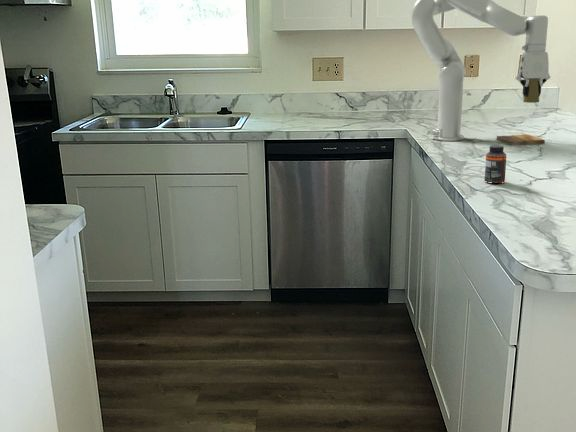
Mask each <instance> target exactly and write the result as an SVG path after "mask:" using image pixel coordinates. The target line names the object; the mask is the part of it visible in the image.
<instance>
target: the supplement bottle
mask: <svg viewBox="0 0 576 432" xmlns="http://www.w3.org/2000/svg"><path fill="white" fill-rule="evenodd" d="M504 148H505V147H504V145H501V144H492V145H489V152H487V153H486V154H485V162H484V163H485V166H484V167H485V168H484V182H485V181H487V182H492V183H502V182H504V183H505V181H506V167H507V154H506V153H505V152H504ZM502 184H503V183H502Z"/></svg>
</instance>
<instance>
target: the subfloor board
mask: <svg viewBox="0 0 576 432" xmlns="http://www.w3.org/2000/svg"><path fill="white" fill-rule="evenodd" d="M496 141H498V142H501V143H504V144H506V145H509V146H525V145H527V146H530V145H545V143H546V142H545V141H546V140H544V139H543V138H539V137H538V136H537V137H536V136H534V135H532V134H528V133H527V134H511V135H497V136H496Z"/></svg>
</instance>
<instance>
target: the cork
mask: <svg viewBox="0 0 576 432" xmlns="http://www.w3.org/2000/svg"><path fill="white" fill-rule="evenodd" d="M539 80H540V79H538V78H534V79H529V84H528V87H529V93H528V97H526V96H523V99H522V102H523V103H529V104H530V103H532V104H533V103H540V96H539V91H538V82H539Z"/></svg>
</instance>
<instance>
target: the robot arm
mask: <svg viewBox="0 0 576 432" xmlns="http://www.w3.org/2000/svg"><path fill="white" fill-rule="evenodd" d="M455 9H456V10H458V11H460V12H462V13H464V14H466V15H468V16H470V17H472V18H473V19H476V20H478V21H480V22H482V23H486V24H488V25H489V26H492V27H494V28H495V29H498V30H499V31H502V32H504V33H506V34H507V35H510V36H512V37H517V36H522V35H523V36H524V35H525V44H524V45H522V46H521V50H524V52H523V53H522V55H521V60H520V64H519V73H517V75H516V77H515V80H516V82H517V81H518V82H519V83H520V84H521V86H522V96H523V97H524V96H526V97H528V93H529V87H528V84H529V79H534V78H538V79H540V80H539V82H538V91H539V97H540V96H541V92H542V87H543V86H544V84H545V83H546V82H547V81H548V80H550V79H551V74H550V73H549V53H548V52H547V51H546V50H547V49H546V48H547V38H548V37H547V35H548V24H549V18H548V16H547V15H530V16H523V15H522V16H521V15H519V14H517V13H515V12H513V11H510V10H509V9H507V8H505V7H503V6H501V5H499V4H498V3H496V2H495V1H494V0H416V2H415V3H414V4H413V7H412V11H411V24H412V26H413V27H412V28H413V29H414V31H415V34H416V35H417V37H418V39H419V41H420V42H421V44H422V46H423V48H424V50H425V52H426V54H427V56H428V58H429V59H430V60H431V61H433V62H434V63H435V65H436V67H437V68H438V70H439V74H438V109H437V126H435V128H433V129H426V130H425V135H430V136H433V139H434V140H437V141H443V142H455V141H462V140H464V139H465V136H464V135H463V134H461V128H462V115H463V114H462V111H463V110H462V109H463V94H464V93H463V92H464V78H465V76H466V67H465V65H464V63H463V61H462V60H461V58H460V56H459V54H458V52H457V51H456V49H455V47H454V46H453V44H452V42H451V41H450V40H449V39H447V38H445V37H444V35H443V33H442V32H441V31H440V29H439V27H438V25H437V23H436V21H435V19H434V16H438V15H440V14H443V13H447V12H450V11H453V10H455Z"/></svg>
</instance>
